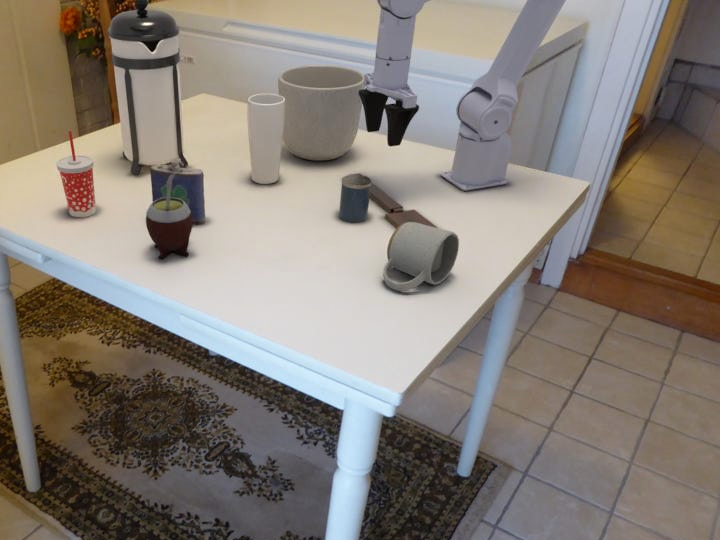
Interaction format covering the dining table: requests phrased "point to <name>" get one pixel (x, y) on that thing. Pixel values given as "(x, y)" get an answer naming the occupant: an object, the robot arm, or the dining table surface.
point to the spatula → (395, 209)
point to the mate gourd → (169, 224)
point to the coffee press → (148, 86)
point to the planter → (320, 110)
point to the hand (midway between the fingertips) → (383, 138)
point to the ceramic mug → (420, 254)
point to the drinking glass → (265, 136)
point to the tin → (354, 198)
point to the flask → (180, 187)
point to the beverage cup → (78, 182)
